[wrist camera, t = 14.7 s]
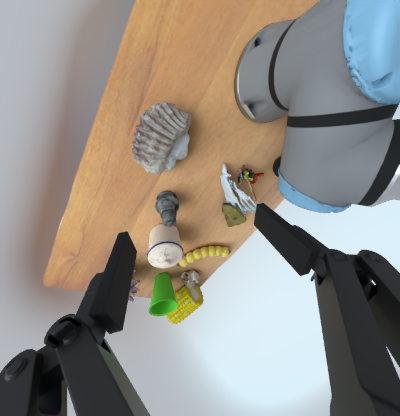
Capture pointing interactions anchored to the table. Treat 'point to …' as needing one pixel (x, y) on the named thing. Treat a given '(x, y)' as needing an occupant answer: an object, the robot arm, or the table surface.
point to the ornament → (190, 278)
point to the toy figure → (249, 178)
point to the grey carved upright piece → (167, 207)
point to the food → (186, 303)
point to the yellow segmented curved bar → (203, 254)
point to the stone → (232, 215)
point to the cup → (163, 296)
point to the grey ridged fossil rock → (161, 137)
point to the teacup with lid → (164, 247)
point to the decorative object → (231, 196)
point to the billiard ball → (277, 166)
